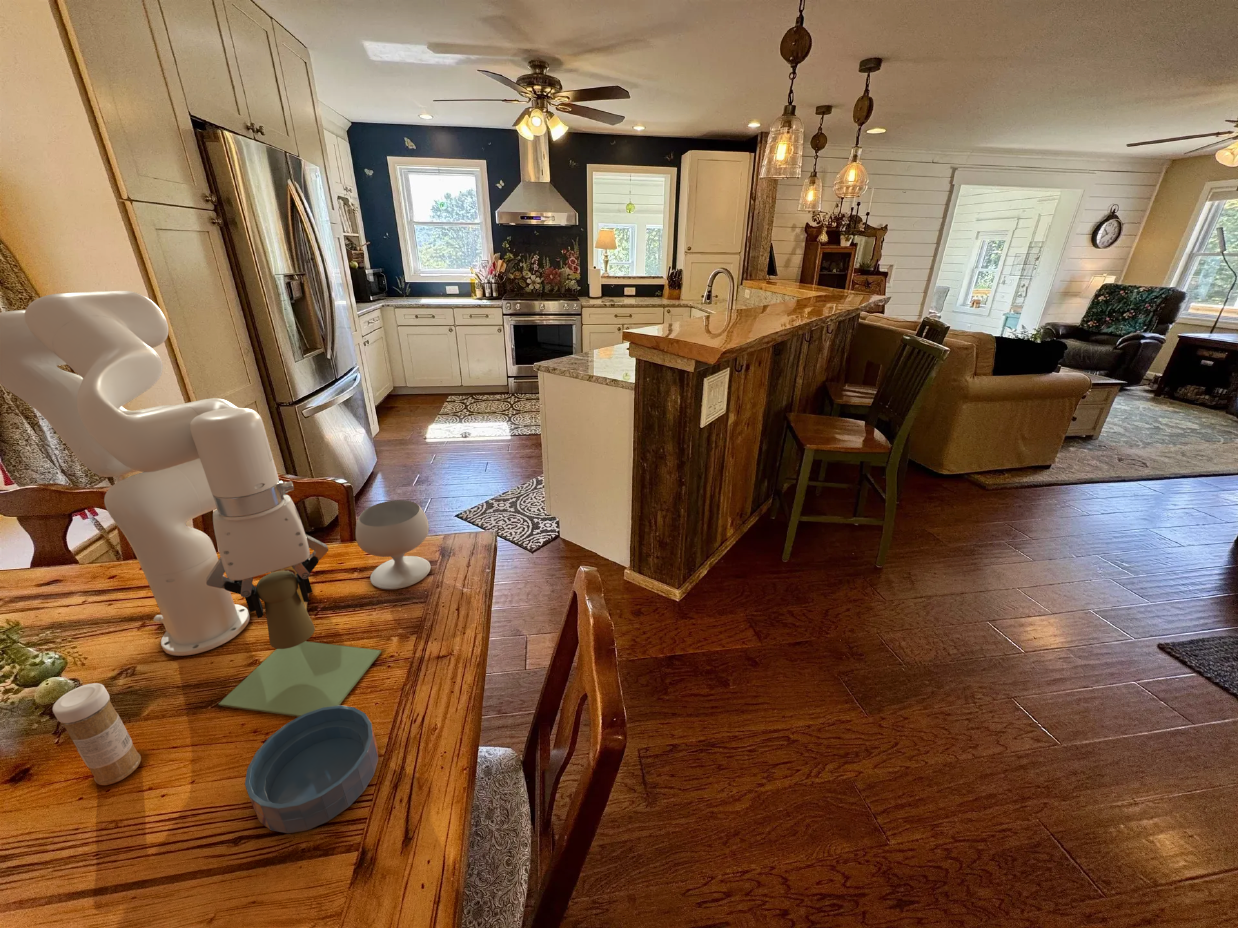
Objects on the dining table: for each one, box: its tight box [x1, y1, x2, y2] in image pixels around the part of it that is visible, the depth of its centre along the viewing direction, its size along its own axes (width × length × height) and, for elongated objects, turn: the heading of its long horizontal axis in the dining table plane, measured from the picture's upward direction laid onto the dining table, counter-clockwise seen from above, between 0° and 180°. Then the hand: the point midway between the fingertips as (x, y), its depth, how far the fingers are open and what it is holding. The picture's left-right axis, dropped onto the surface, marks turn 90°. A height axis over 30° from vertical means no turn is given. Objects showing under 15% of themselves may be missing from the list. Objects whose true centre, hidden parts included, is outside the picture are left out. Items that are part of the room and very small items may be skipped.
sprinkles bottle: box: [51, 682, 142, 786], centre depth 63 cm, size 5×5×13 cm
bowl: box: [244, 704, 379, 834], centre depth 64 cm, size 14×14×5 cm
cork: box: [255, 571, 316, 650], centre depth 75 cm, size 6×6×11 cm
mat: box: [218, 640, 382, 718], centre depth 80 cm, size 18×14×1 cm
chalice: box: [355, 499, 432, 590], centre depth 104 cm, size 14×14×15 cm
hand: (283, 603), depth 75 cm, fingers closed on cork, 5 cm apart
